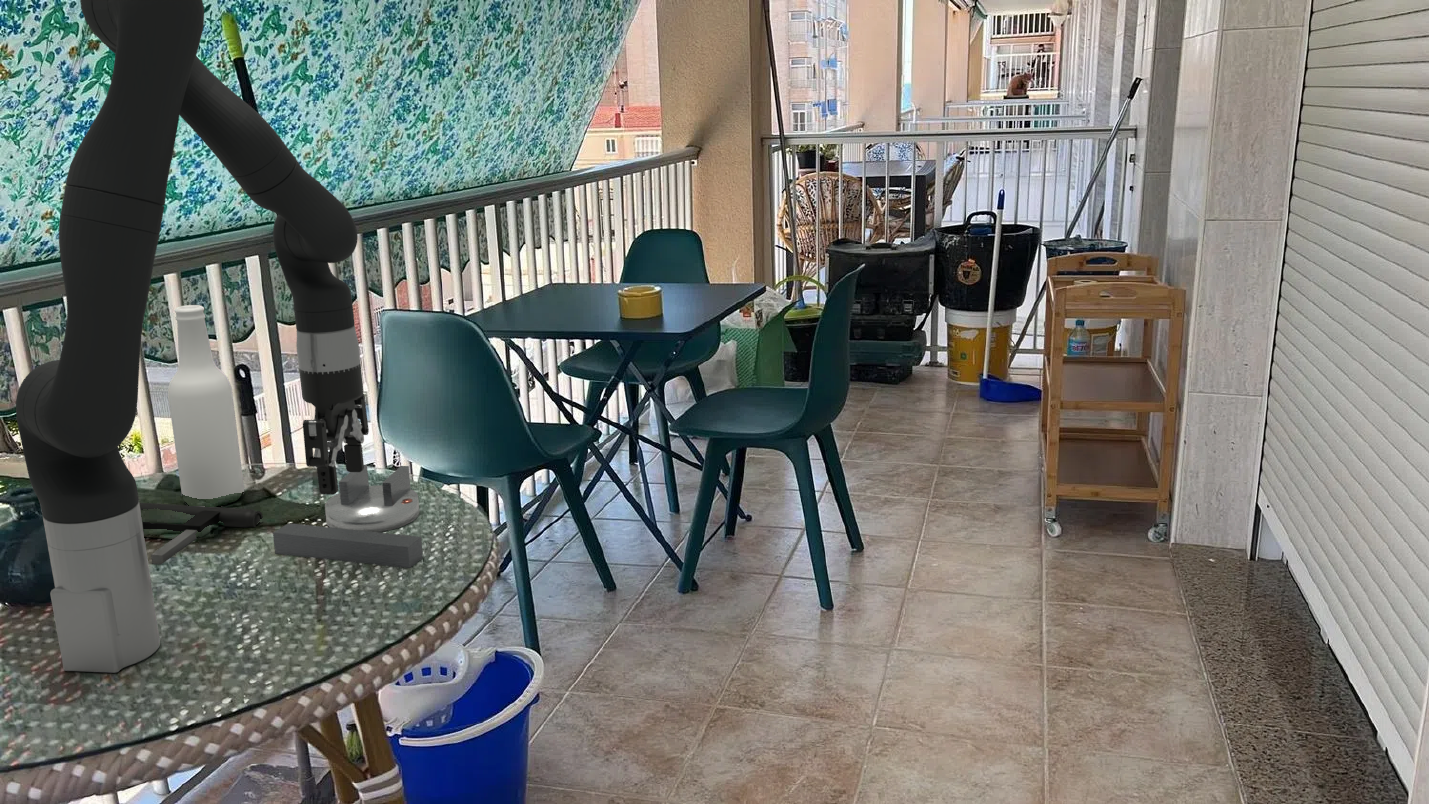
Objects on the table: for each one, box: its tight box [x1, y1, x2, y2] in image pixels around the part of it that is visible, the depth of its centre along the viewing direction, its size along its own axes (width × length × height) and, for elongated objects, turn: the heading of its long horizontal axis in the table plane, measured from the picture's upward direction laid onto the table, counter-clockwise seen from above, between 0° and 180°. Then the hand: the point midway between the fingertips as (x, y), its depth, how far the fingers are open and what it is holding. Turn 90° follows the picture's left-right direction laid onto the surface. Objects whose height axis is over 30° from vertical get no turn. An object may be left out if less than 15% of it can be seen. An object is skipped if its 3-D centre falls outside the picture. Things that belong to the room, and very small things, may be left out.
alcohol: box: [167, 304, 245, 499], centre depth 170 cm, size 9×9×30 cm
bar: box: [272, 522, 424, 569], centre depth 151 cm, size 20×4×4 cm, turn 76°
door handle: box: [139, 502, 264, 565], centre depth 158 cm, size 3×20×16 cm
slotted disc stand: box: [324, 464, 420, 533], centre depth 164 cm, size 13×13×6 cm
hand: (342, 482), depth 149 cm, fingers open, 8 cm apart
